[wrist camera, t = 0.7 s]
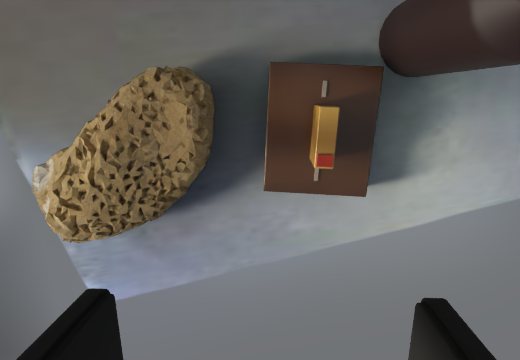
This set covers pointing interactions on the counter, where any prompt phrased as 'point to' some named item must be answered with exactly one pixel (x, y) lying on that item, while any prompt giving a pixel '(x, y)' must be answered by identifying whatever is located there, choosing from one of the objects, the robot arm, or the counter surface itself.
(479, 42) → the bottle
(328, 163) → the thumbturn
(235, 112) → the counter surface
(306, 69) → the lock plate
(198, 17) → the counter surface
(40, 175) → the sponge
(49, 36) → the counter surface
